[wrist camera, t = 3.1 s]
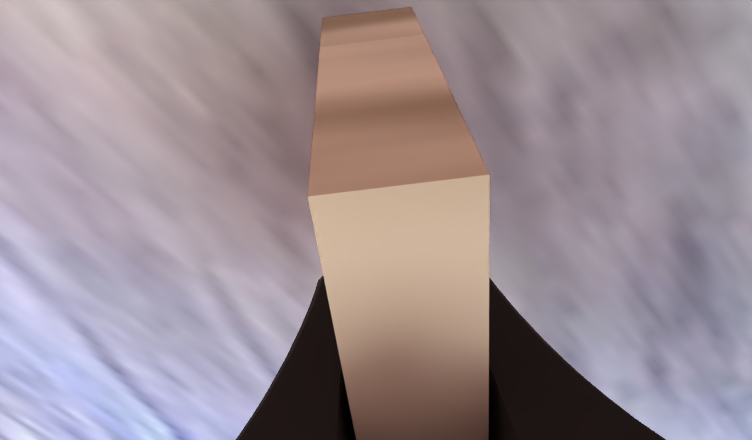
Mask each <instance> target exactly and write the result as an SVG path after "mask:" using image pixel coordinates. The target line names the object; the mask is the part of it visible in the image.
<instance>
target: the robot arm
mask: <svg viewBox="0 0 752 440" xmlns="http://www.w3.org/2000/svg"><path fill="white" fill-rule="evenodd" d="M236 440H356V436H355V431H354V426H353V421H352V416H351V411H350V406H349V401H348V396H347V391H346V386H345V381H344V376H343V371H342V366H341V361H340V356H339V351H338V346H337V341H336V336H335V331H334V326H333V321H332V316H331V311H330V306H329V301H328V296H327V291H326V286H325V281H324V276H322V277H321V278H320V279H319V281H318V283H317V286H316V290H315V293H314V296H313V298H312V301H311V304H310V306H309V309H308V311H307V314H306V316H305V318H304V321H303V323H302V325H301V328H300V330H299V332H298V334H297V336H296V338H295V340H294V342H293V344H292V347H291V349H290V351H289V353H288V355H287V357H286V359H285V361H284V362H283V364H282V366H281V368H280V370H279V371H278V373H277V375H276V377H275V379H274V380H273V382H272V384H271V386H270V388H269V389H268V391H267V393H266V394H265V396H264V398H263V399H262V401H261V403H260V404H259V406H258V407H257V409H256V411H255V412H254V414H253V415H252V417H251V418H250V420H249V421H248V423H247V424H246V426H245V427H244V429H243V430H242V432H241V433H240V435H239V436H238V437H237V439H236ZM489 440H665V439H664V438H663V437H661V436H660V435H658V434H657V433H655V432H654V431H652V430H651V429H649V428H648V427H647V426H645V425H644V424H642V423H641V422H639V421H638V420H637V419H635V418H634V417H632V416H631V415H630V414H629V413H627V412H626V411H625V410H623V409H622V408H621V407H620V406H618V405H617V404H616V403H614V402H613V401H612V400H611V399H609V398H608V397H607V396H606V395H604V394H603V393H602V392H601V391H599V390H598V389H597V388H596V387H595V386H593V385H592V384H591V383H590V382H589V381H587V380H586V379H585V378H584V377H583V376H582V375H581V374H579V373H578V372H577V371H576V370H575V369H574V368H573V367H572V366H571V365H570V364H568V363H567V362H566V361H565V360H564V359H563V358H562V357H561V356H560V355H559V354H558V353H557V352H556V351H555V350H554V349H553V348H552V347H551V346H550V345H549V344H548V343H547V342H546V341H545V340H544V339H543V338H542V337H541V336H540V335H539V334H538V333H537V332H536V331H535V330H534V329H533V328H532V327H531V326H530V325H529V323H528V322H527V321H526V320H525V319H524V318H523V317H522V316H521V315H520V314H519V313H518V312H517V310H516V309H515V308H514V307H513V306H512V305H511V303H510V302H509V301H508V300H507V299H506V297H505V296H504V295H503V294H502V293H501V291H500V290H499V289H498V288H497V286H496V285H495V284H494V283H493V281H492V280H491V279H490V277H489Z"/></svg>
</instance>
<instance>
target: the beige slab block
mask: <svg viewBox="0 0 752 440" xmlns="http://www.w3.org/2000/svg"><path fill="white" fill-rule="evenodd" d="M489 198H490V174H489V172H488V170H487V168H486V166H485V164H484V161H483V159H482V157H481V155H480V153H479V151H478V149H477V146H476V144H475V142H474V140H473V138H472V136H471V133H470V131H469V129H468V127H467V125H466V123H465V121H464V118H463V116H462V114H461V112H460V110H459V108H458V106H457V103H456V101H455V99H454V97H453V95H452V93H451V90H450V88H449V86H448V84H447V82H446V80H445V78H444V75H443V73H442V71H441V69H440V67H439V65H438V62H437V60H436V58H435V56H434V54H433V52H432V50H431V47H430V45H429V43H428V41H427V39H426V37H425V35H424V32H423V30H422V28H421V26H420V24H419V22H418V19H417V17H416V15H415V13H414V11H413V9H412V7H407V8H398V9H390V10H382V11H374V12H366V13H358V14H350V15H342V16H334V17H326V18H322V29H321V41H320V53H319V65H318V77H317V89H316V101H315V113H314V125H313V137H312V149H311V161H310V173H309V185H308V201H309V206H310V211H311V216H312V221H313V226H314V231H315V236H316V241H317V246H318V251H319V256H320V261H321V266H322V271H323V276H324V281H325V286H326V291H327V296H328V301H329V306H330V311H331V316H332V321H333V326H334V331H335V336H336V341H337V346H338V351H339V356H340V361H341V366H342V371H343V376H344V381H345V386H346V391H347V396H348V401H349V406H350V411H351V416H352V421H353V426H354V431H355V436H356V440H489Z"/></svg>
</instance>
